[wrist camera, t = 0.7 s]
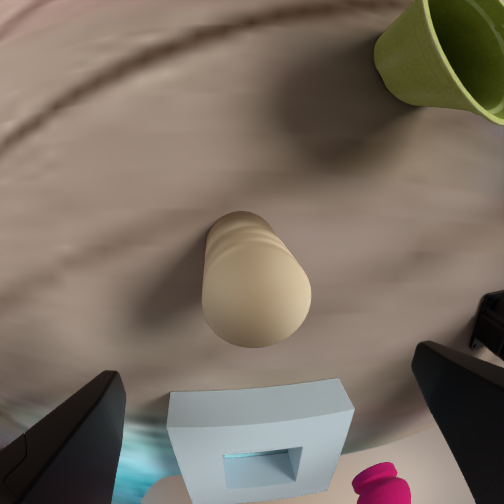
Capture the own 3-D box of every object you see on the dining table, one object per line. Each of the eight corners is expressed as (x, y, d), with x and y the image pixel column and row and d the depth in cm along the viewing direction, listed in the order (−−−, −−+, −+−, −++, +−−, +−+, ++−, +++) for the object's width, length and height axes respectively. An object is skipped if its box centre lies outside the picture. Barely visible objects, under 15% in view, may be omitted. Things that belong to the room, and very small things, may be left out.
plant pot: (337, 97, 18) (415, 68, 9) (360, -8, 15) (423, -62, 7) (443, 146, 19) (530, 155, 11) (456, 47, 17) (531, 29, 9)
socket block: (338, 377, 24) (354, 408, 21) (317, 464, 29) (326, 490, 25) (170, 391, 23) (166, 427, 19) (193, 476, 27) (193, 504, 23)
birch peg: (275, 210, 19) (314, 247, 12) (274, 275, 21) (307, 343, 13) (204, 212, 19) (197, 251, 11) (207, 279, 20) (206, 350, 13)
